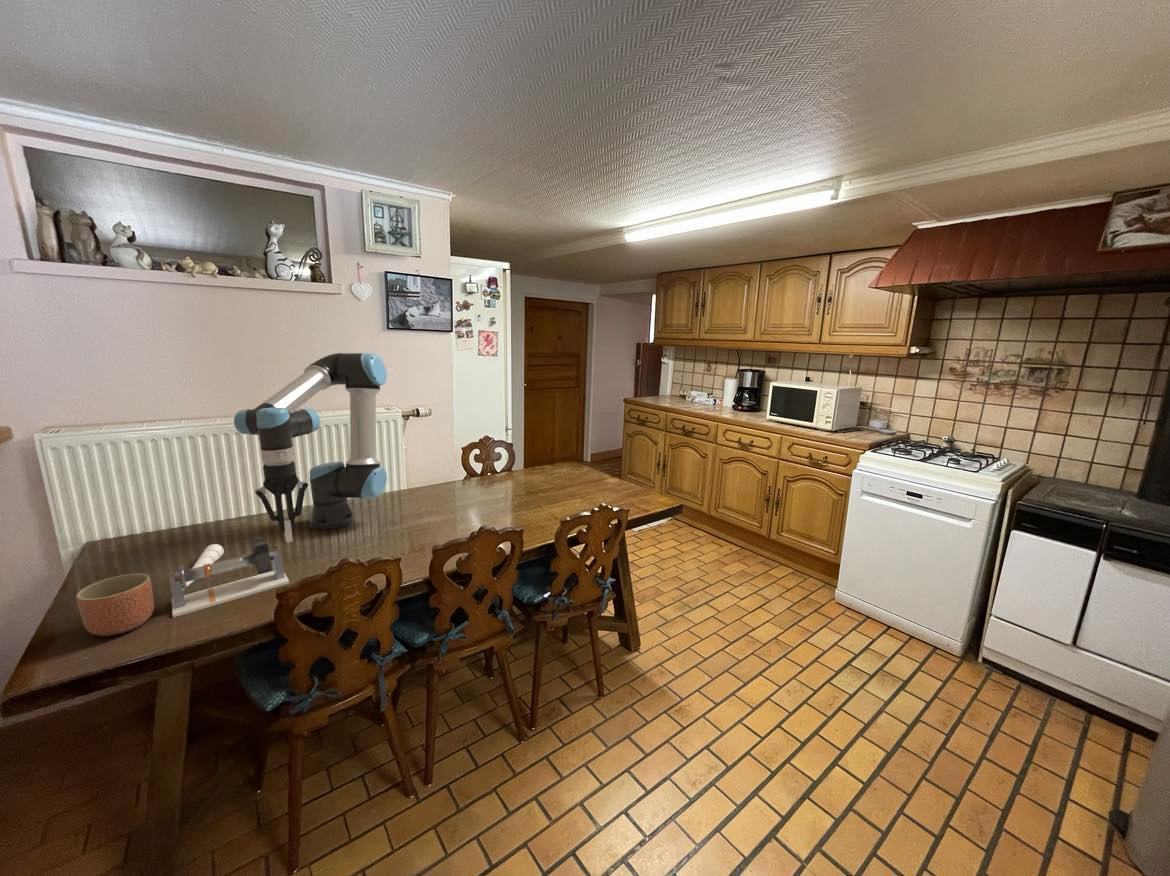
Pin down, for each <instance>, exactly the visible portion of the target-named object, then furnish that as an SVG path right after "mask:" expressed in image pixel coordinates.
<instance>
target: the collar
mask: <svg viewBox="0 0 1170 876" xmlns="http://www.w3.org/2000/svg"><path fill="white" fill-rule="evenodd" d="M250 541H251V546H252V547H251V548H252V554H254V553H255V554H256V561H257V564H254V566H255V569H256V571H257V573H258V575H260V574H263V573H267V572H271V571H273V570H272V569H273V567H272V560H270V554H269V550H270V549H269V548H270V547H269V543H268V542H267V539H266V537H265V536H264V535H263V536H260V537H255V538H251V539H250Z"/></svg>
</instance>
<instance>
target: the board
mask: <svg viewBox="0 0 1170 876" xmlns="http://www.w3.org/2000/svg"><path fill="white" fill-rule="evenodd" d="M284 575H285V578H281V579H278V580H277V579H276V577H275V576H274V570H272V571H270V572H266V573H263V574H257V575H254V576H249V577H246V578H243V579H238V580H234V581H231V582H227V583H224V584H220V585H216V586H213V587H209V588H206V589H201V590H198V591H194V592H191V593H187V594H183V595H184V600H185V606H183V607H180V608H176V609H175V607H174V602H173V597H172V598H171V611H172V612H171V613H172V618H176V617H179V616H183V615H187V614H191V613H194V612H197V611H200V610H203V609H207V608H210V607H214V606H217V605H220V604H224V603H228V602H231V601H234V600H238V599H241V598H244V597H247V596H252V595H255V594H258V593H262V592H265V591H269V590H271V589H275V588H279V587H282V586H284V585H288V584H290V580H289V577H288V576H287V575H286V573H285V572H284Z"/></svg>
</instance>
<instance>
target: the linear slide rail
mask: <svg viewBox="0 0 1170 876" xmlns="http://www.w3.org/2000/svg"><path fill="white" fill-rule="evenodd" d="M269 554H270V561H271V564H272V569H273V570H272V571H274V576H275V577H276V579H277V580H278V579H281V578H285V575H284V573H285V567H284V561H283V560H284V559H283V555H282V552H281V551H280V550H279V549H278V550H277V548H276V547H275V548H271V549H269ZM255 564H257V561H256V554H255V553H254V554H253V553H251V554H245V555H241V556H238V557H234V558H231V559H230V558H229V559H225V560H221V561H219V562H214V563H213V564H207V565H203V566H201V567H197V568H193V567H192V568H193V569H192V568H189V569H184V565H183V564H182V565H181V564H180V565H178V572H177V571H176V572H174V573H173V575H174V576H170V577H169V585H170V590H171V595H172V598H173V602H174V607H175V609H176V608H180V607H183V606H185V600H184V595H185V594H184V590H185V589H188V588H187V587H188V586H186V582H188V581H192V580H194V581H197V580H198V579H203V578H210V577H212V576H214V575H219V574H223V573H227V572H230V571H234V570H239V569H242V568H246V567H249V566H253V565H254V566H255ZM184 588H185V589H184ZM183 589H184V590H183Z"/></svg>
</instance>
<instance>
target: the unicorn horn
mask: <svg viewBox="0 0 1170 876" xmlns="http://www.w3.org/2000/svg"><path fill="white" fill-rule="evenodd" d="M224 552H225V551H224V547H223V546H221V545H220V544H217V543H216V544H215V543H214V544H209V545H207V547H205V548H204V551H203V552H202V553H201V555H200V556H199V558H198V559H197V560H196V562H195V563H194V565H193V566H192V568H191V569H193V568H197V567H201V566H203V565H207V564H213V563H216V561H218V559H220V558H221V557H222V556H223V555H224ZM194 581H195V580H192V581H188V582H186V586H187V587H189V586H190V585H191V584H192V583H193V582H194ZM185 589H186V588H184V589H183V591H184V590H185Z"/></svg>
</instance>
